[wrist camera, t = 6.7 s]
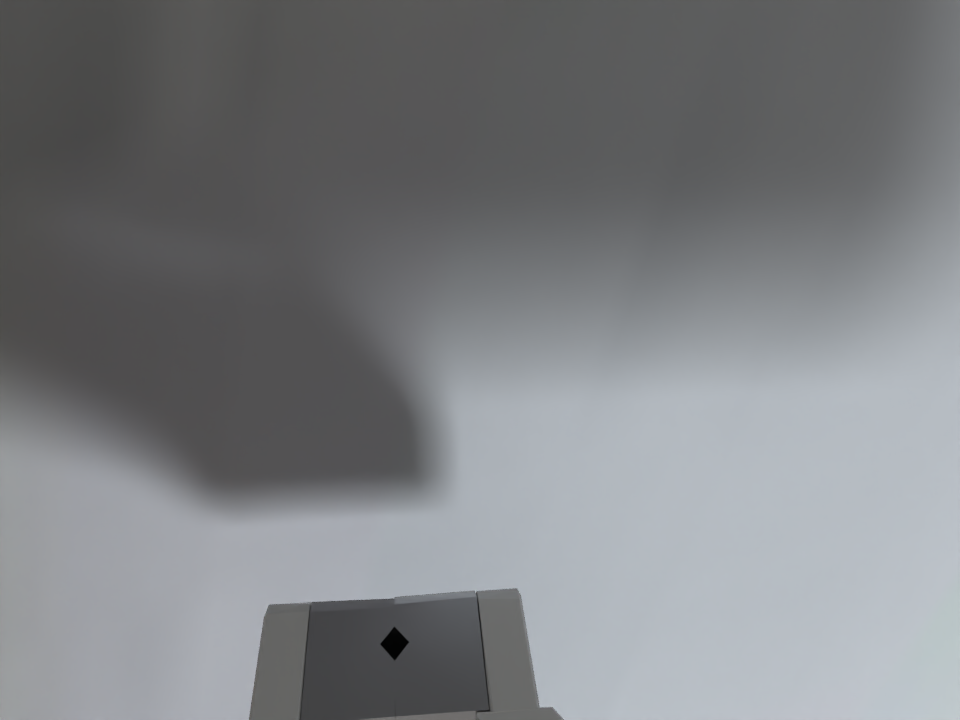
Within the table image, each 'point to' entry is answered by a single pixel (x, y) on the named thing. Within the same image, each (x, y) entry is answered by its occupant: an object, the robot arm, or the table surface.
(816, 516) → the table surface
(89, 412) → the table surface
